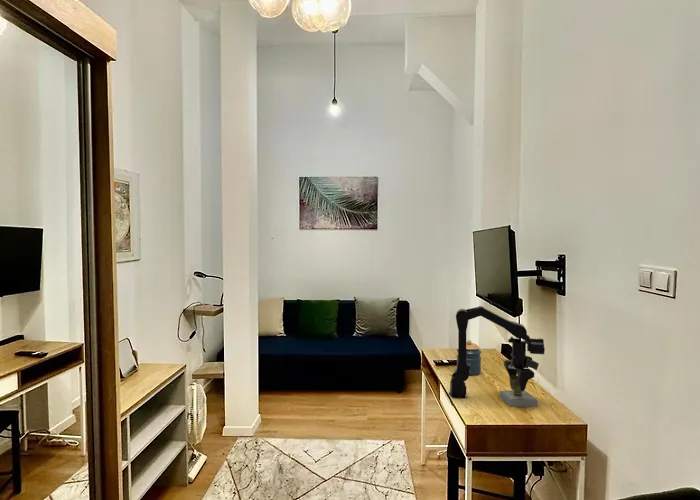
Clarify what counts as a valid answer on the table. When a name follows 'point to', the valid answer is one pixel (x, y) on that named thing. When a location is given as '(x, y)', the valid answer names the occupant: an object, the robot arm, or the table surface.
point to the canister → (473, 357)
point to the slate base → (518, 399)
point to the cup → (515, 385)
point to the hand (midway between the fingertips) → (518, 387)
